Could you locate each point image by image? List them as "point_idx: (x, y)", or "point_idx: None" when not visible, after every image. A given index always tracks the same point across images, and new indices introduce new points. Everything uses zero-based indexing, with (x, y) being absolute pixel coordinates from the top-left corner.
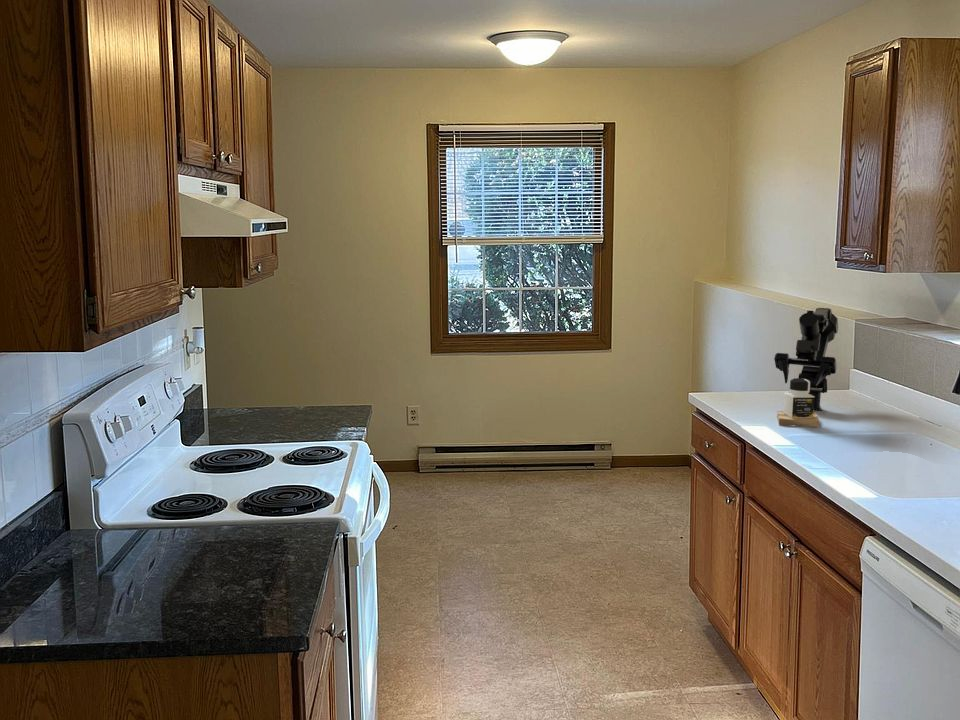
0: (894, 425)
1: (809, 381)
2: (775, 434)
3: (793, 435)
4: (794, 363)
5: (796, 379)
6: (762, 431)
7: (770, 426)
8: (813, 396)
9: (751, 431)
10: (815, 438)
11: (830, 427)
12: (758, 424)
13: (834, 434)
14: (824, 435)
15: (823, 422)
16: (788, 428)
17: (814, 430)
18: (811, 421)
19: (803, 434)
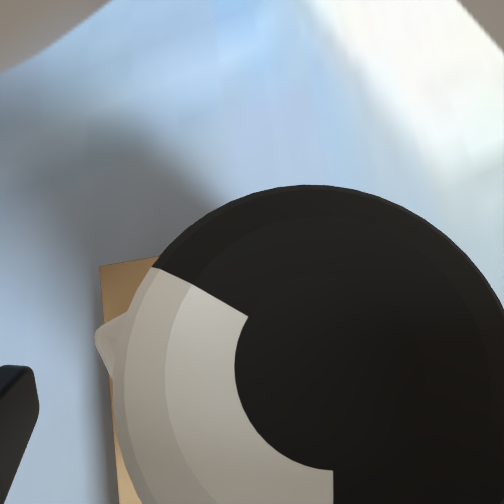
0: None
1: (124, 358)
2: (338, 11)
3: (247, 26)
4: None
5: (402, 288)
6: (416, 44)
7: (410, 177)
8: (106, 326)
9: (467, 22)
10: (131, 11)
11: (33, 325)
12: (491, 198)
13: (22, 137)
14: (82, 91)
15: (77, 490)
16: (298, 172)
17: (140, 187)
18: (158, 257)
19: (198, 67)
